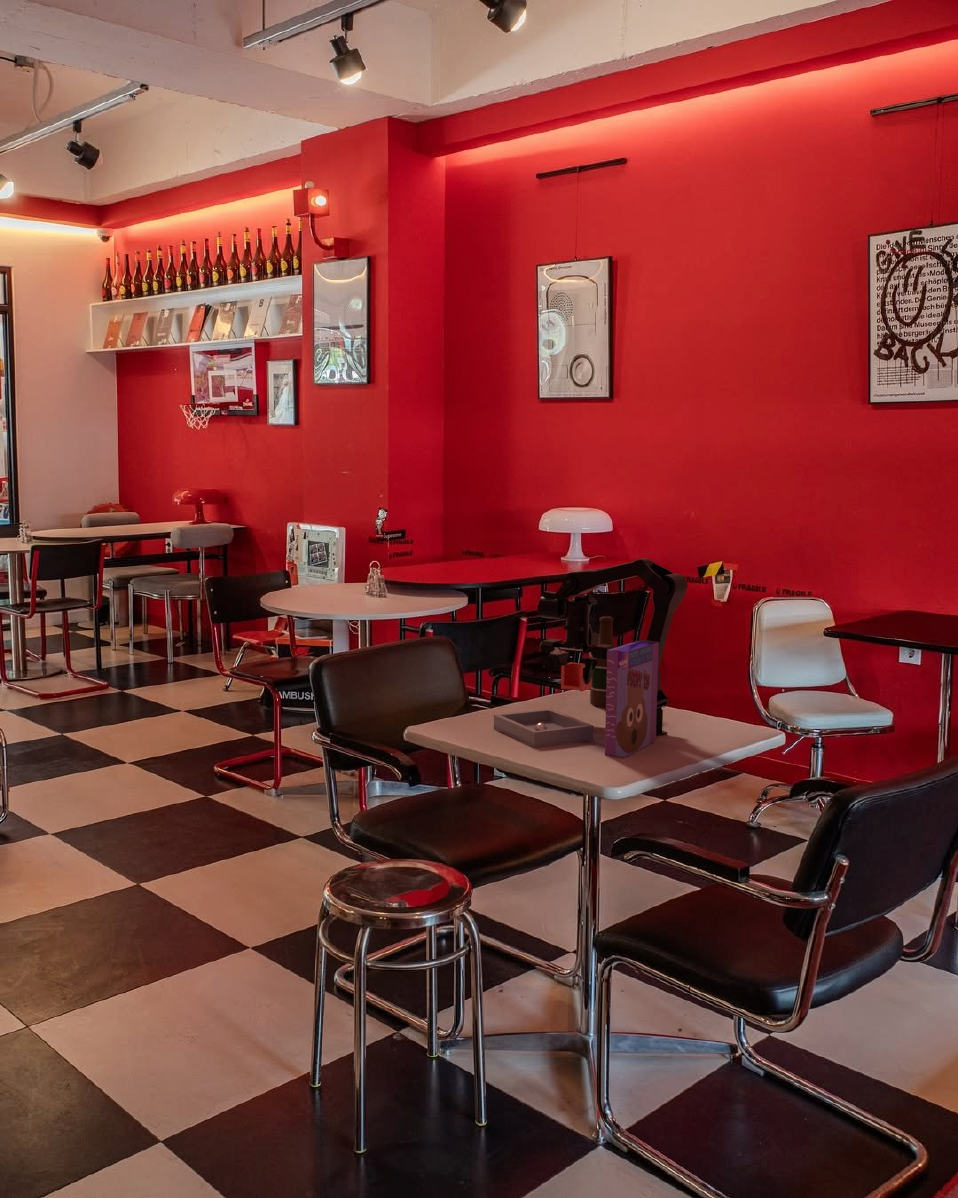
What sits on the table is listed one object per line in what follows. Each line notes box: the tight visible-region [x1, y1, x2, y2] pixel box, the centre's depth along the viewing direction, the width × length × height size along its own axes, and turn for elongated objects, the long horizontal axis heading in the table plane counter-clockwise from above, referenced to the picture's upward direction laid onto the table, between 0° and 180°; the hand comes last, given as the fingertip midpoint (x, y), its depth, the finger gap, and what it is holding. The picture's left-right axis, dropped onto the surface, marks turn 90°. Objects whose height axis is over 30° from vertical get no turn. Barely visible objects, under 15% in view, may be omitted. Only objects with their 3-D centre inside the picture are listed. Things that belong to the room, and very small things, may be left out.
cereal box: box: [604, 639, 659, 759], centre depth 256 cm, size 17×5×24 cm, turn 148°
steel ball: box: [535, 723, 547, 731], centre depth 266 cm, size 3×3×3 cm
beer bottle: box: [589, 615, 615, 709], centre depth 303 cm, size 8×8×24 cm
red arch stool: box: [560, 662, 592, 692], centre depth 283 cm, size 6×5×6 cm
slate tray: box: [493, 708, 595, 748], centre depth 270 cm, size 20×16×4 cm
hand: (576, 682), depth 283 cm, fingers closed on red arch stool, 6 cm apart
